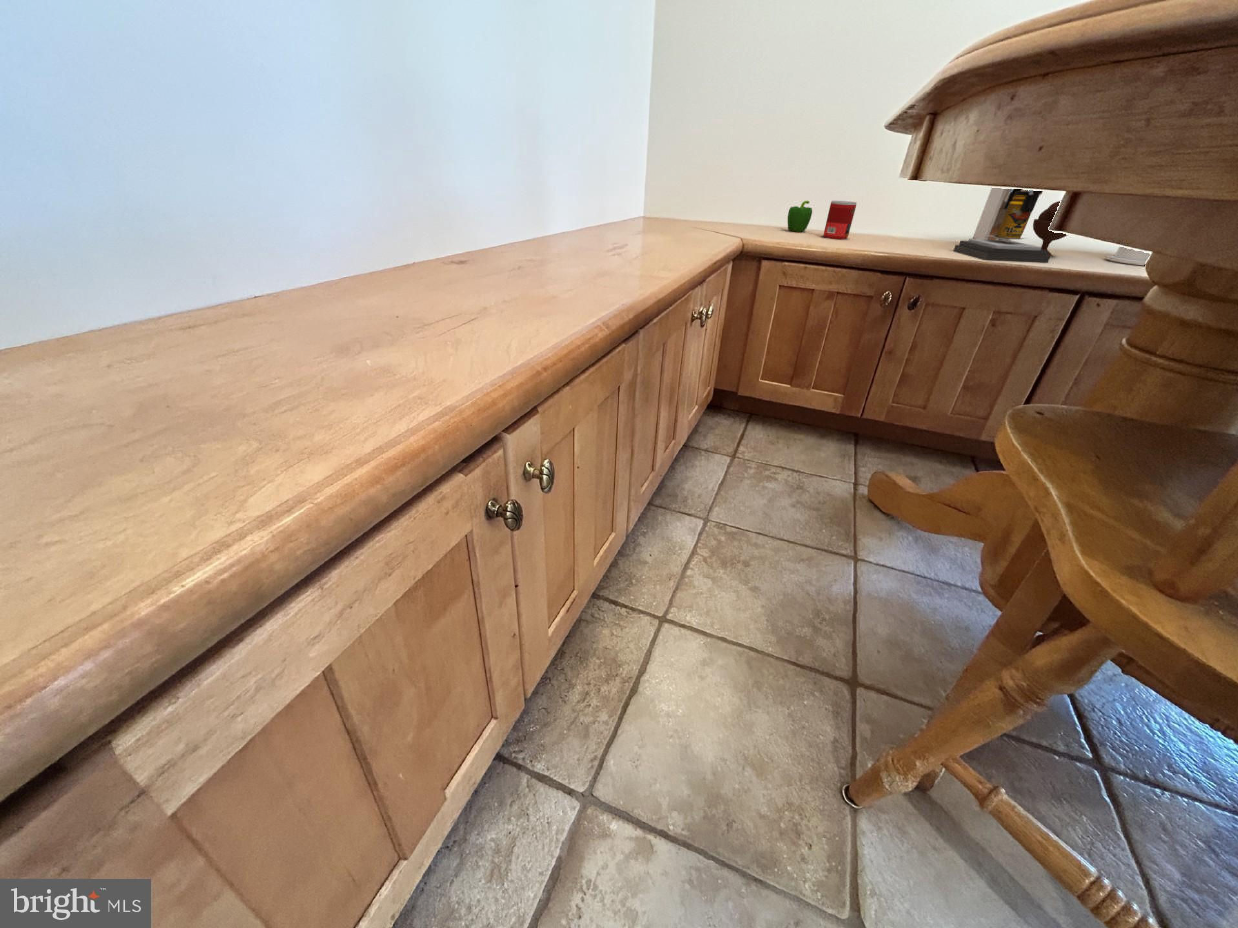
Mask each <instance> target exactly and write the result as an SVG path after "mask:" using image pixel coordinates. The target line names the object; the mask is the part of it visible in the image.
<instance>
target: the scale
mask: <svg viewBox="0 0 1238 928" xmlns="http://www.w3.org/2000/svg"><path fill="white" fill-rule="evenodd" d="M953 252H955V253H960V254H963V255H967V256H971V257H974V258H977V259H981V260H984V261H999V262H1000V261H1001V262H1002V261H1004V262H1021V263H1022V262H1023V263H1024V262H1026V263H1045V264H1047V263H1049V261H1050V259H1051V257H1052V256H1047V255H1048V253H1049V252H1050V251H1049V250H1048V251H1046V250H1042V249H1041V250H1025V249H1002V248H992V247H988V246H984V245H980V244H976V243H972V242H968V240H960V241H959V244H955V245H954V248H953Z"/></svg>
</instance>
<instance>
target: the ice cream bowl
mask: <svg viewBox="0 0 1238 928" xmlns="http://www.w3.org/2000/svg"><path fill="white" fill-rule="evenodd" d="M1060 201H1061V200H1057V201H1055V202H1053V203H1051V204H1050V205H1049V206H1048V207H1047V208H1046V209H1044V210H1043V211H1042V212H1041V213H1040V214H1039V215H1038V218H1034V219H1033V223H1032V230H1033V232H1034V234H1035V235H1036V237H1038V238H1039V239H1040V240H1042V244H1041V246H1040V247H1042V248H1041V249H1042V250H1046V251H1049V250H1048V248H1049V246H1050V245H1051V243H1052V242H1054V241H1057V240H1061V239H1064V238H1065V237H1067V236H1068V235H1066V234H1063V233H1054V232H1052V231H1049V230H1048V227H1049V226H1050V223H1051V222H1052V219H1053V217H1054V215H1055V212H1056V211H1057V207H1058V206H1059V203H1060ZM1047 256H1051V257H1053V254H1052V253H1051V252H1050V251H1049V253H1048V255H1047Z"/></svg>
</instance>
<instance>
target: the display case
mask: <svg viewBox="0 0 1238 928" xmlns="http://www.w3.org/2000/svg"><path fill="white" fill-rule="evenodd" d="M1009 191H1010V189H1001V188H992V187H991V189H990V191H989V193H988V197H987V200H986V202H985V204H984V206H983V210H982V212H981V215H980V218H979V220H978V223H977V226H976V228H975V229H974V233H973V235H972V238H971V239H986V240H1009V241H1012V240H1010V239H1003V238H997V237H991V236H984V235H997V232H998V230H999V227H1000V225H1001V223H1002V220H1003V218H1004V215H1005V212H1006V210H1007V209H1004V207H1005V204H1006V202H1007V199H1008V197H1009V194H1010V193H1009ZM1022 191H1028V190H1022Z"/></svg>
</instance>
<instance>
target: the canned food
mask: <svg viewBox="0 0 1238 928" xmlns="http://www.w3.org/2000/svg"><path fill="white" fill-rule="evenodd" d="M857 205H858V204H857V201H849V200H848V201H847V200H831V202H830V205H829V209H828V213H827V218H826V222H825V226H824V230H823V238H825V239H831V240H847V239H848V237H849V234H850V232H851V228H852V224H853V220H854V216H855V213H856V207H857Z"/></svg>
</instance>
